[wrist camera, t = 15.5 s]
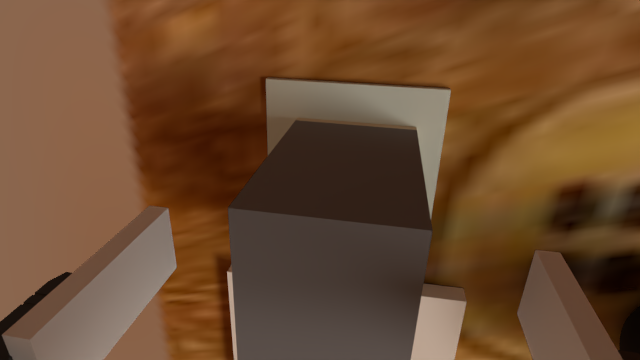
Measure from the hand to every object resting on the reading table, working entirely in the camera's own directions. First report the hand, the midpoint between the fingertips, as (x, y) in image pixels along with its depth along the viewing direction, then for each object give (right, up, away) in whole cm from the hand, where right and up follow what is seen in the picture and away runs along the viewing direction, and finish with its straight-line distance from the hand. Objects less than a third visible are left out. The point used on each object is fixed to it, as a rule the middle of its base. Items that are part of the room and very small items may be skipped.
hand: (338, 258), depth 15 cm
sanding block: (+1, +2, +8) cm, 8 cm away
